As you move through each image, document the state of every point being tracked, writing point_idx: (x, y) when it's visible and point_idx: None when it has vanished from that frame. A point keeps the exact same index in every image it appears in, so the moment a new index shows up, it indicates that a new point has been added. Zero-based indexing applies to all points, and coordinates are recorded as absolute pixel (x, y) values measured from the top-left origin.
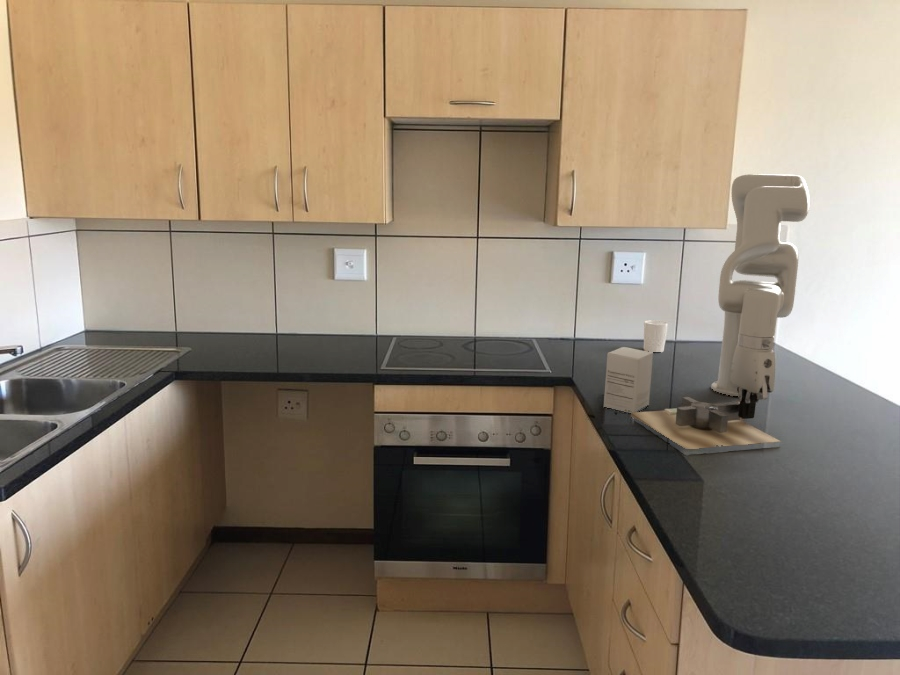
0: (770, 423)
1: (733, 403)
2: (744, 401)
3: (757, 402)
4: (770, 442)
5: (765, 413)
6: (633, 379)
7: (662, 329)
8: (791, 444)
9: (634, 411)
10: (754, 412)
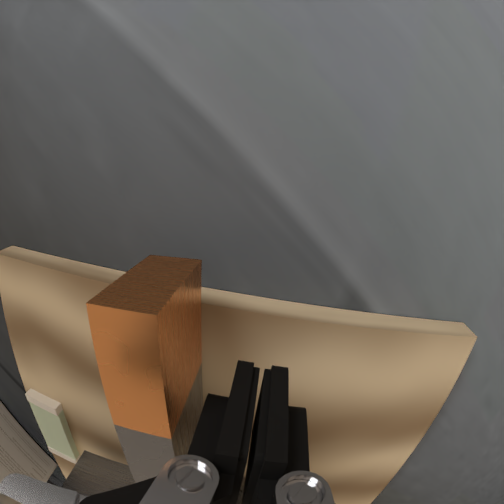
0: (194, 69)
1: (157, 467)
2: (230, 501)
3: (322, 479)
4: (453, 382)
5: (83, 9)
6: None
7: None
8: (471, 239)
9: (53, 470)
10: (287, 392)
